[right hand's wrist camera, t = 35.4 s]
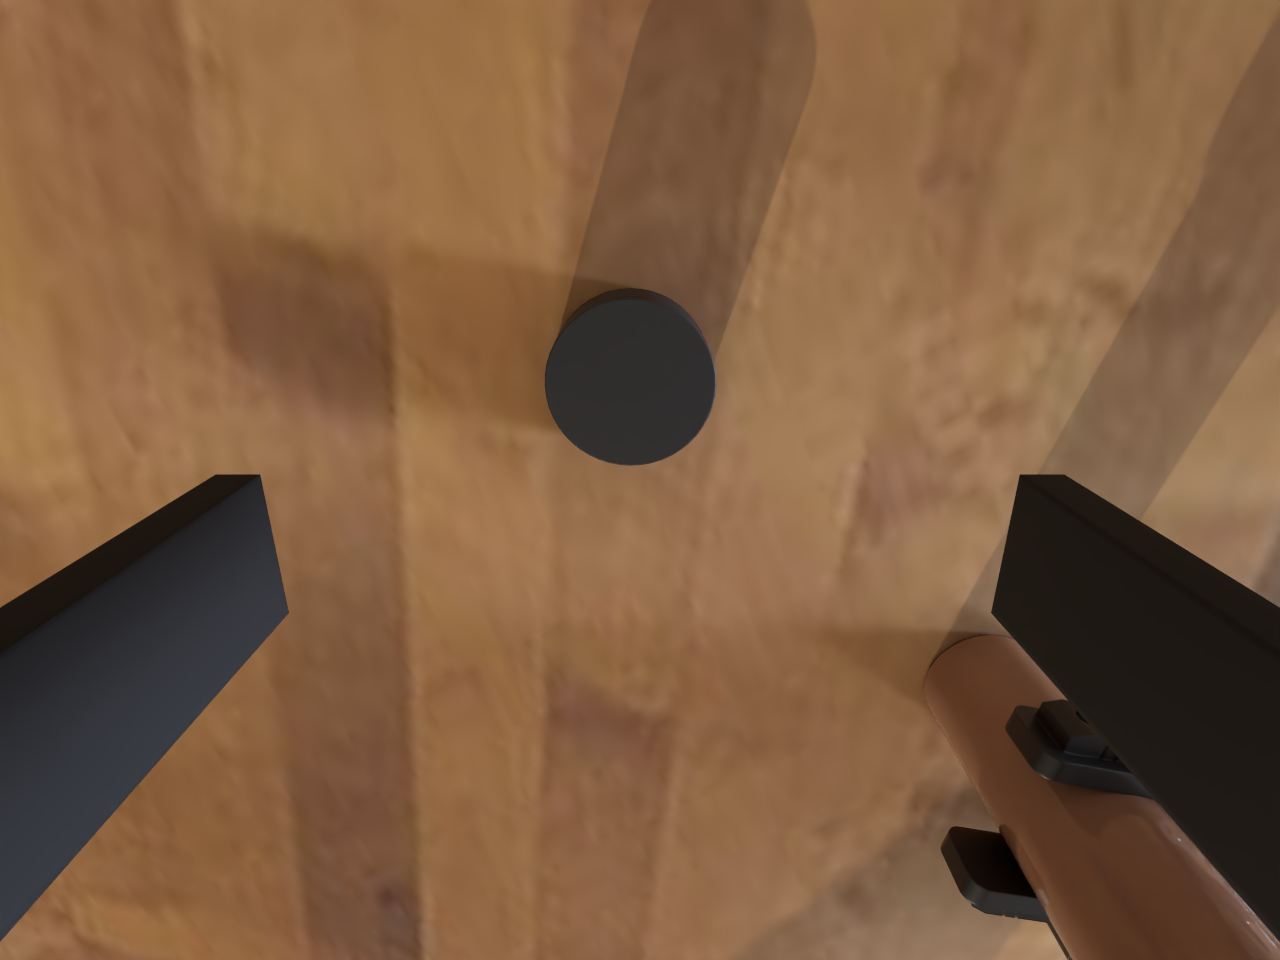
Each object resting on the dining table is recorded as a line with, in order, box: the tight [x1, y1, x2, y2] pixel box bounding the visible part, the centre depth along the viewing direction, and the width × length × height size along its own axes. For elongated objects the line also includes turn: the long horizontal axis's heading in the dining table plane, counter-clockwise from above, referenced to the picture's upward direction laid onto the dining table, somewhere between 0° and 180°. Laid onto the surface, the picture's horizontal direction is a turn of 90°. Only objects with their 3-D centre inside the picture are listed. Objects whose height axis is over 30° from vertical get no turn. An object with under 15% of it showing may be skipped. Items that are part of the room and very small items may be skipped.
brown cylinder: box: [924, 635, 1280, 960], centre depth 17 cm, size 4×4×20 cm
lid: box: [545, 288, 716, 465], centre depth 21 cm, size 5×5×2 cm
